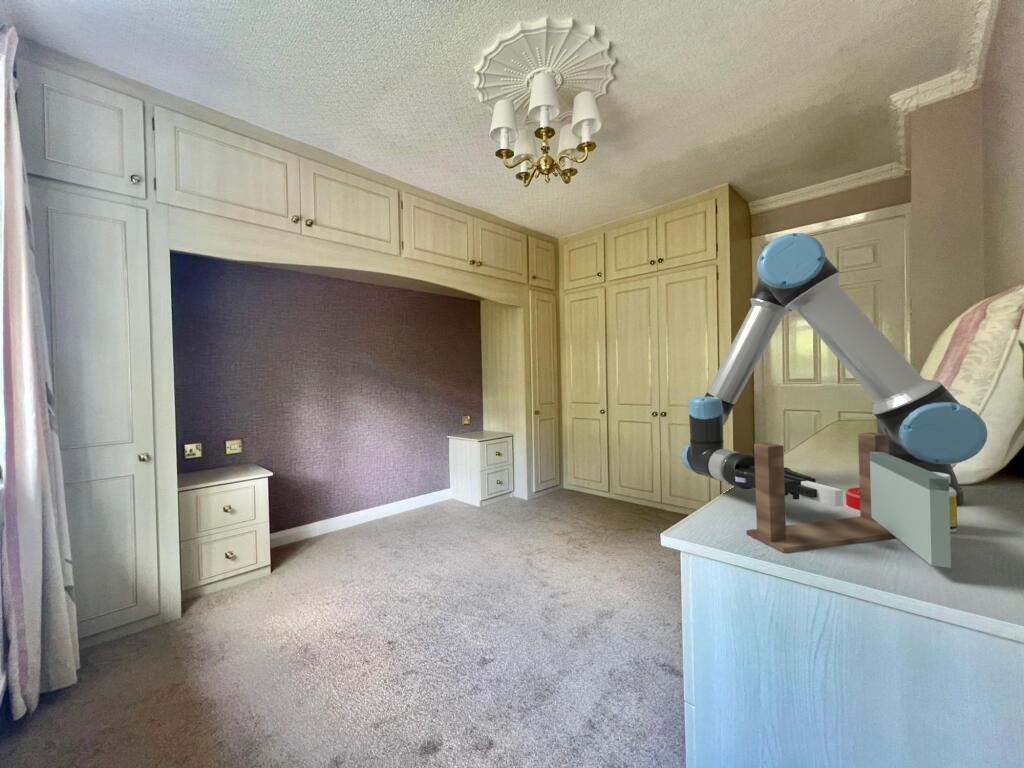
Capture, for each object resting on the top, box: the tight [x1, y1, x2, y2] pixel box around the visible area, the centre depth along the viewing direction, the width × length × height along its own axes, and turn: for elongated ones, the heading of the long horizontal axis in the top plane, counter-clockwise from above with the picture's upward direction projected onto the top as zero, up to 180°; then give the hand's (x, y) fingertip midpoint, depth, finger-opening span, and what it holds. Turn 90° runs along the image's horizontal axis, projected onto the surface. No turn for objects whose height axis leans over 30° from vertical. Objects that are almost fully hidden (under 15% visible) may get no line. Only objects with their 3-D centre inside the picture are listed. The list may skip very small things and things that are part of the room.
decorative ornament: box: [845, 486, 860, 511], centre depth 86 cm, size 10×10×3 cm
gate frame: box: [745, 432, 896, 553], centre depth 73 cm, size 27×8×17 cm, turn 101°
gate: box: [870, 452, 952, 568], centre depth 65 cm, size 20×2×12 cm, turn 157°
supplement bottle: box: [933, 472, 958, 534], centre depth 74 cm, size 5×5×10 cm
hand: (838, 498), depth 69 cm, fingers closed
